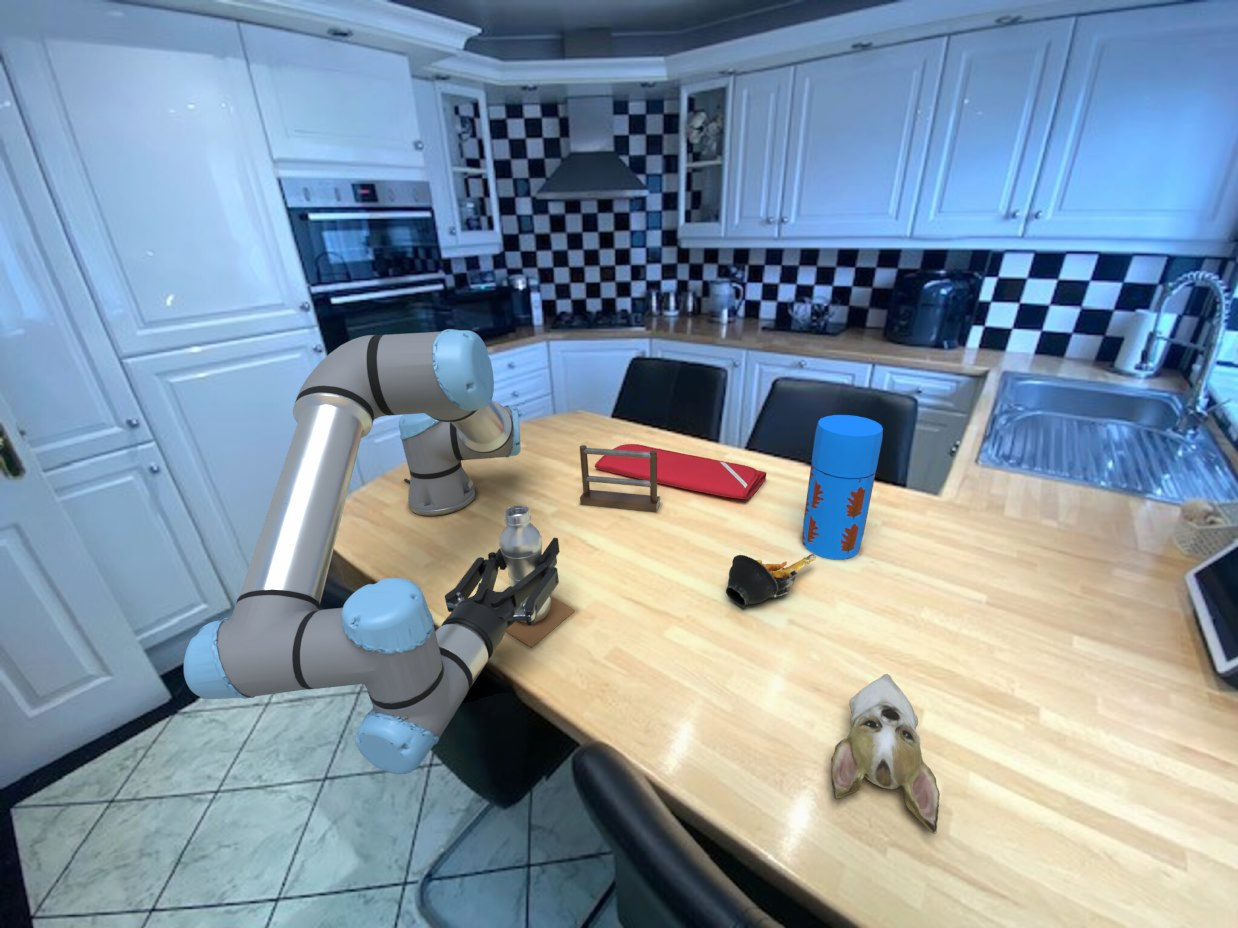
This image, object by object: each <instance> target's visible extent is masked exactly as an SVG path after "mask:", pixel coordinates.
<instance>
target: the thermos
mask: <svg viewBox="0 0 1238 928" xmlns="http://www.w3.org/2000/svg"><path fill="white" fill-rule="evenodd" d="M883 432H884V428H883V426H882V424H881V423H879V422H877V421H876V420H873V419H871V418H867V417H864V416H863V417H862V416H858V415H850V414H834V415H826V416H824V417H821V418H820V419H819V420H818V421H817V424H816V428H815V433H814V440H813V447H812V456H811V463H810V472H809V477H808V484H807V492H806V500H805V507H804V515H803V523H802V538H801V539H802V544H803V546H804V547H805V549H806V550H807V551H809V552H811V554H814V555H815V556H819V557H821V558H825V559H830V560H839V561H840V560H842V561H843V560H848V559H853V558H854V557H855V556H857V555H858V553H859V551H860V548H861V544H862V541H863V537H864V534H865V529H866V524H867V519H868V514H869V509H870V503H871V498H872V493H873V488H874V484H875V479H876V473H877V468H878V463H879V457H880V453H881V447H882V443H883V438H884V437H883V436H884V435H883V434H884V433H883Z"/></svg>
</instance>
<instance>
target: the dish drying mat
mask: <svg viewBox="0 0 1238 928" xmlns="http://www.w3.org/2000/svg"><path fill="white" fill-rule="evenodd" d="M612 450H626V451H639V452H650V451H651V450H655V451H657V484H660V485H666V486H670V487H675V488H681V489H685V490H690V491H695V492H700V493H705V494H710V495H715V496H720V497H725V498H730V499H731V498H732V499H740V500H750V499H751V498H752V497H753V496H754V495H755V493H756V492H757V491H758V489H759V488H760V487H761V486H762V485H763V484H764V482H766V479H767V472H766V471H763V470H759V469H756V468H754V467H752V466H749V465H745V464H741V463H735V462H729V461H724V460H718V459H714V458H709V457H704V456H698V455H693V454H688V453H683V452H678V451H673V450H668V449H662V448H657V447H654V446H653V447H652V446H648V445H644V444H639V443H637V444H636V443H627V444H626V443H625V444H621V445H618V446H616V447H614V448H613V449H612ZM594 468H595V469H596V470H599V471H605V472H609V473H613V474H616V475H621V476H625V477H631V478H634V479H637V480H646V481H650V459H647V458H634V457H620V456H607V455H602V457H600V458H599V459H598V461H596V463H595V464H594Z"/></svg>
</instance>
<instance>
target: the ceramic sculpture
mask: <svg viewBox="0 0 1238 928" xmlns="http://www.w3.org/2000/svg"><path fill="white" fill-rule="evenodd" d="M848 706H849V710H850V713H851V718H850V727H849V729H850V731H849V734H848V735H847V737H846V738H844V739H842V740H840V741H839V742H838V743H837V744H836V745H835V746H834V752H833V754H832V756H831V759H830V763H831V765H830V773H831V774H830V777H831V779H830V780H831V786H832V789H833V796H834V799H836V800H839V799H841V798H843V797H845V796H849V795H851V794H853V793H855V792H858V791H859V790H860V789H861V788H862V784H863V780H864V779H867V780H868V781H869V782H871V783H872V784H874V785H876V786H878V787H880V788H883V789H889V790H896V789H898V788H901V787H902V788H903V800H904V801H903V802H904V804H905V806H906V807H907V809H908V810H909V811H910V812H911V813H912V814H913V815H914V816H915V817H916V819H918V820H919V821H920V822H921V823H922V824H923V825H924V826H925V828H927V830H928V831H929V832H931V834H934V835H936V834H937V829H938V824H937V823H938V821H939V820H938V819H939V807H940V795H941V794H940V790H939V788H938V785H937V778H936V776H935V774H934V773H933V771H932V769H931V768H930V767H929V766H928V765H927V764H926V763H925V761H924V759H923V755H922V749H921V741H920V740H921V739H920V735H919V734H918V731H917V726H918V725H919V717H918V716H917V715H916V713H915V709H914V707H913V706H912V703H911V702H910V700H909V699H908V698H907V696H906V695H905V693H904V692H903V691H902V689H901V688H900V687H899V686H898V684H897V683H895V681H894V680H893V679H892V676H891V675H890V674H888V673H885V674H883V675H882V676H880V677H878V678H877V679H875V680H873V681H872V682H870V683H869V684H868V685H866V686H865V687H863V688H862V689H860V690H859V691H858V692H857V693H856V694H855V695H854V696H853V697H851V698H850V699H849V703H848Z"/></svg>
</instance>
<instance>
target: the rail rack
mask: <svg viewBox="0 0 1238 928" xmlns="http://www.w3.org/2000/svg"><path fill="white" fill-rule="evenodd" d="M588 455H595V456H604V455H607V456H620V457H634V458H647V459H650V481H647V480H643V479H635V478H634V479H633V478H622V477H610V476H601V475H600V476H599V475H590V473H589V472H590V471H589V459H588ZM579 458H580V470H581V482H582V494H581V495H580V496H579V501H580V504H579V505H581V506H591V507H598V508H599V507H600V508H608V509H617V510H618V509H619V510H628V511H639V512H647V513H657V512H658V510H659V507H660V505H661V496H660V495H658V483H657V451H655V450H651V451H650V452H639V451H626V450H612V449H610V448H598V447H597V448H596V447H587V445H586V444H581V445H580V446H579ZM590 483H599V484H610V485H621V486H632V487H643V488H649V494H641V493H640V494H638V493H631V492H630V493H629V492H620V491H619V492H618V491H608V490H597V489H591V487H590V486H591V485H590Z"/></svg>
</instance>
